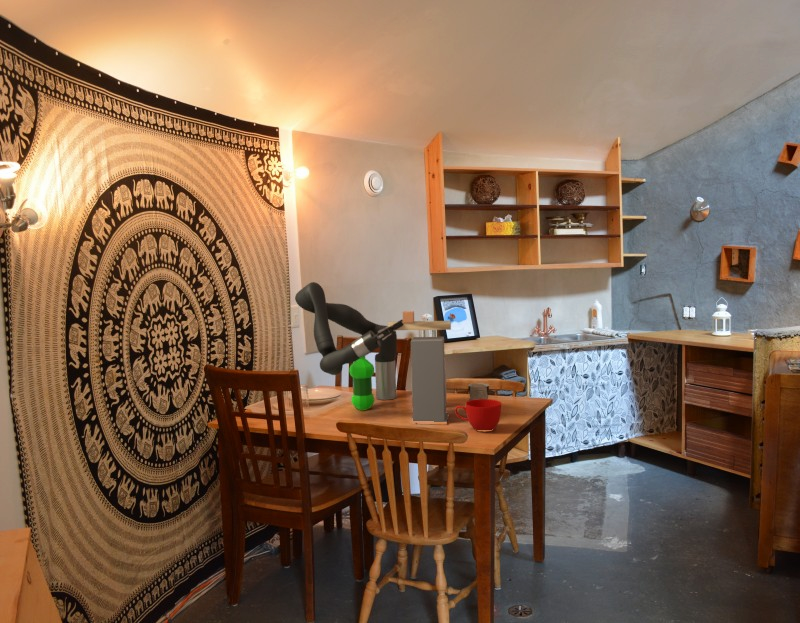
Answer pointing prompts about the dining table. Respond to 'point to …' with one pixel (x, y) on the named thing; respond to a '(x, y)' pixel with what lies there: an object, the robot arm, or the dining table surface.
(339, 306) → the robot arm
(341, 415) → the dining table surface
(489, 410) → the ceramic cup
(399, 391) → the dining table surface
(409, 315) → the orange cube
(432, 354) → the stand
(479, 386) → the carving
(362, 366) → the plastic bottle
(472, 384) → the coffee mug
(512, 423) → the dining table surface
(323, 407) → the dining table surface
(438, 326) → the tan wooden bar
